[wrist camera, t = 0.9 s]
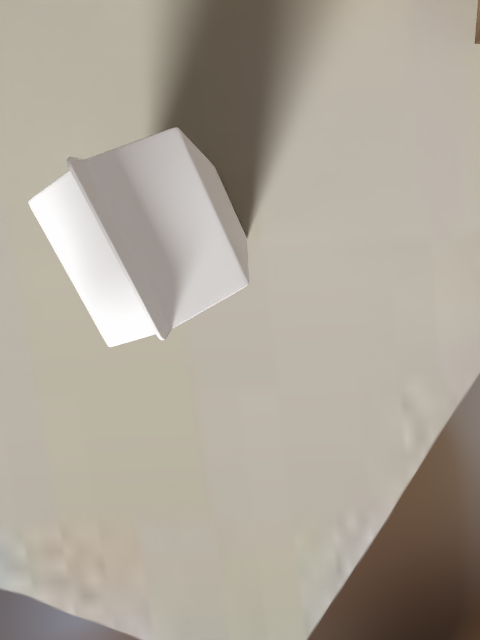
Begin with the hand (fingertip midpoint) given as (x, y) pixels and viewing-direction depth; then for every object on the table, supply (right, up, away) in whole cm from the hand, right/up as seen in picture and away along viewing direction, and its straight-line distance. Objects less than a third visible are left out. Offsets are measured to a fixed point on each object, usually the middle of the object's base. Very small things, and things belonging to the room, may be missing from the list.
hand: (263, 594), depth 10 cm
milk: (-4, +14, +24) cm, 28 cm away
